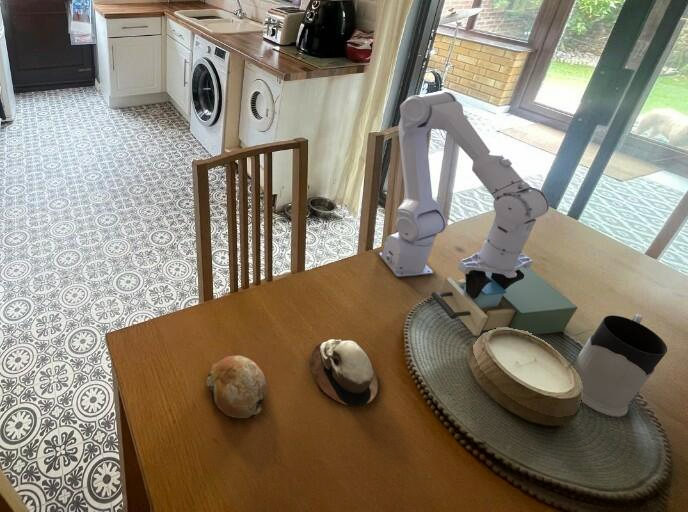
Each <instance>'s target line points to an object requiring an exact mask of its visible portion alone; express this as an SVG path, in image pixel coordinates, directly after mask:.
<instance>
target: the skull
mask: <svg viewBox="0 0 688 512" xmlns="http://www.w3.org/2000/svg"><path fill="white" fill-rule="evenodd" d="M309 368H310V372H311V375H312V376H313V379H314V380H315V382H316V384H317V385H318V387H319V388H320V389H321V391H323V392H324V394H326V395H327V396H328V397H330V398H331V399H333V400H334V401H336V402H338V403H341V404H343V405H346V406H349V407H361V406H365V405H367V404H369V403H371V402H372V401H373V400H374V398H375V397H376V396H377V393H378V389H379V382H378V377H377V376H378V375H377V374H376V373H377V372H376V370H375V369H374V367H373V365H372V363H371V360H370V358H369V357H368V355H367V354H366V352H365V351H364V350H363V349H362V348H361V347H360V345H358V343H357V342H356V341H353V340H342V339H340V338H339V339H333V338H332V339H328V340H327V341H324V342H321V343H319V344H317V345H316V346H315V347H314V348H313V350H312V351H311V354H310V358H309Z"/></svg>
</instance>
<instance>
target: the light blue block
mask: <svg viewBox="0 0 688 512" xmlns="http://www.w3.org/2000/svg"><path fill="white" fill-rule="evenodd" d="M486 276H487V277H488V278H489V279H490V280H491V281H492V282H490V283H488V284H487V285H486V286H485V287H484V288H483V289H482V291H481V292H480V294H479V296H478V297H477V298H475V299H473V298H471V297H470V296H469V295H468V293H467V292H466V285H465V287H464V290H463V291H464V292H465V293H466V294H467V295H468V296H469V298H470V299H471V300H472V301H473V302H474V303H475V304H476V305H477V306H478V307H479V308H485V307H494V306H498V305H499V302H500V300H501V298H502V296H503V294H506V291H505V290H504V289H503V288H502V287H501V286H500V285H499V284H498V283H497V282H496V281H494V280H493V279H492V278H491V277H490V276H489V275H488V274H486Z"/></svg>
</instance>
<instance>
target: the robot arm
mask: <svg viewBox="0 0 688 512" xmlns="http://www.w3.org/2000/svg"><path fill="white" fill-rule="evenodd" d="M399 111H400V118H399V122H398V127H397V128H398V139H399V148H400V149H399V150H400V156H401V157H400V158H401V165H402V176H403V187H404V194H405V199H404V200H403V201H402V203H401V204H400V205H399V207H398V208H397V218H396V220H395V227H396V231H397V232H395V233H393V234H390V235H387V236H386V238H385V241H384V244H383V247H382V252H379V253H378V254H379V257H380V258H381V259H382V260H383V261H384V262H385V264H386V265H387V266H388V267H389V269H390V270H391V271H392V272H393V274H394V276H395V277H397V278H401V277H402V278H403V277H412V276H413V277H414V276H424V275H432V274H433V272H434V271H433V270H432V269H431V268H430V267H429V265H428V264H427V263H428V260H429V257H430V254H431V252H432V248H433V245H434V243H435V239H436V238H437V236H438V234H441V233H443V232H444V231H445V230H446V228H447V220H446V217H445V214H444V213H443V212H442V205H441V204H440V203H439V202H438V201H436V200H435V199H434V197H433V192H432V191H433V190H432V180H431V179H432V178H431V169H430V161H429V160H430V159H429V149H428V140H427V133H428V132H429V131H430V130H431V129H435V130H441V131H445V132H446V134H448V135H449V136H450V137H451V139H452V140H453V141H454V142H455V143H456V145H458V146H459V147H460V149H461V150H462V151H463V152H464V153H466V156H468V157H469V158H470V159H471V160H472V167H471V170H472V172H473V173H474V175H475V176H476V177H477V179H478V180H479V181H480V182H481V184H482V185H483V186H484V188H485V189H486V190H487V192H488V193H489V194H490V195H491V196H492V198H493V199H494V200H493V204H492V205H493V209H494V212H495V216H494V219H493V220H492V224H491V225H490V228H489V229H488V232H487V235H486V236H485V237H486V238H485V240H484V242H483V244H482V246H481V249H480V251H477V252H476V253H474V254H472V255H471V256H470V255H469V256H468V257H467V258H464V259H459V261H458V264H457V266H456V267H457V268H458V270H459V271H460V272H462V274H464V277H465V279H466V292H467V293H468V295H469V296H470V297H471V298H473V299H475V298H477V297H478V296H479V294H480V292H481V291H482V289H483V288H484V287H485V286H486V285H487V284H488V283H490V282H492V281H491V280H490V279H489V278H488V277H487V276H486V273H485V272H492V275H491V278H492V279H493V280H494V281H496V282H497V283H498V284H499V285H500V286H501V287H502V288H503V289H504V290H506V289H507V288H508V287H509V286H510V285H512V284H513V283H515V282H517V281H519V280H521V279H523V278H524V274H523V273H522V272H521V271H520V270H519V269H520V268H521V267H524V268H531V266H532V264H533V262H534V260H533V259H531V258H530V257H529V256H528V255H526V254H525V253H523V254H522V252H523V250H524V248H525V245H526V244H527V242H528V239H529V237H530V236H531V234H532V230H533V228H534V226H535V224H536V222H537V218H540V217H542V216H544V215H545V214H546V213H548V212H549V207H550V201H549V199H548V197H547V196H546V194H545V193H544V191H543V190H541V189H539V188H537V187H535V186H531V185H530V184H529V182H527V181H525V180H523V178H522V177H521V176H520V174H518V172H517V171H516V169H515V168H513V166H512V165H513V163H512V162H511V160H510V159H509V158H506V157H504V155H502V154H499V153H495V152H492V151H491V150H490V149H489V147H488V146H487V145H486V143H485V142H484V140H483V139H482V137H481V136H480V135H479V134H478V132H477V131H476V129H475V128H474V126H473V125H472V124H471V122H470V121H469V120H468V118H467V117H466V115H465V113H464V108H463V104H462V103H461V102H460V101H458V100H457V98H456V96H455V95H454V94H453V93H452V92H451V91H448V90H438V91H435V92H429V93H424V94H419V95H418V94H413V95H410V96H409V97H407V98H406V99H405V100H404V101H403V102H402V103H401V104H400V105H399Z"/></svg>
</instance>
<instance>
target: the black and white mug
mask: <svg viewBox="0 0 688 512" xmlns="http://www.w3.org/2000/svg"><path fill="white" fill-rule="evenodd" d="M642 320H643V316H642V315H641V314H639V313H636V314H634V316H633V318H632V319H631V318H628V317H624V316H620V315H607V316H605V317H604V318H603V319H602V321H601V322H600V324H599V325H598V326H597V329H596V330H595V332H594V333H592V334H591V335H590V336H589V338H588V340H587V341H586V343H585V344H584V346H583V347H582V349H581V350H580V352H579V353H578V355H577V356H576V358H575V360H574V361H573V363H572V364H571V366H573V368H574V369H575V370H576V372H577V373H578V374H579V376H580V378H581V381H582V385H583V396H582V401H581V403H583V404H585V406H587V407H589V408H591V409H593V410H595V411H597V412H599V413H601V414H603V415H607V416H611V417H624V416H626V415H627V413H628V412H629V404H630V403H631V402H632V400H633V399H634V398H635V397H636V395H637V394H638V392H640V390H641V389H642V388H643V386H644V385H645V383H646V382H647V381H648V380H649V379H650V377H651V376H652V375H653V374H654V372H655V371H656V370H655V368H656V367H657V366H658V365H659V363H660V362H661V360H663V358H664V357H665V355H666V354H667V352H668V346H667V344H666V343H665V341H664V340H663V339H662V338H661V336H659V335H658V334H657V333H656V332H654V331H653V330H652V329H650V328H648V327H647V326H645V325H643V324H642V323H641V322H642Z"/></svg>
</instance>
